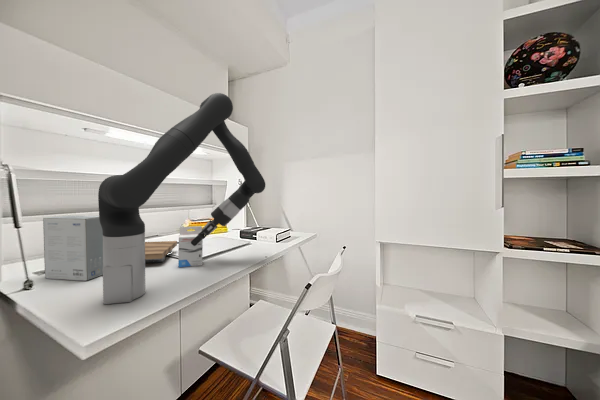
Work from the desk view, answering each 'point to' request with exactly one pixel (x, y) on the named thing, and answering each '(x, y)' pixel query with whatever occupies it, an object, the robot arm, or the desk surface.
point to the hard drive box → (73, 247)
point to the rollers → (155, 259)
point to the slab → (158, 249)
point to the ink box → (189, 247)
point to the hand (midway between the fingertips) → (194, 242)
